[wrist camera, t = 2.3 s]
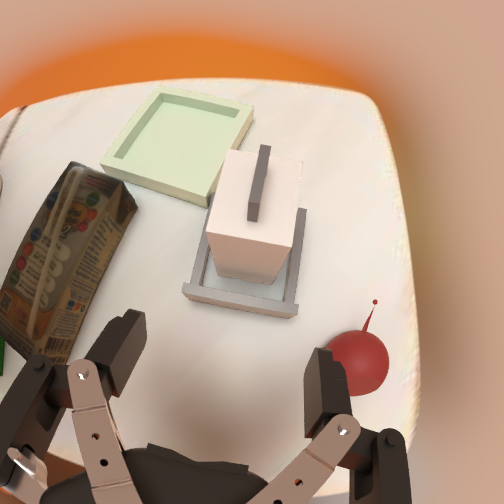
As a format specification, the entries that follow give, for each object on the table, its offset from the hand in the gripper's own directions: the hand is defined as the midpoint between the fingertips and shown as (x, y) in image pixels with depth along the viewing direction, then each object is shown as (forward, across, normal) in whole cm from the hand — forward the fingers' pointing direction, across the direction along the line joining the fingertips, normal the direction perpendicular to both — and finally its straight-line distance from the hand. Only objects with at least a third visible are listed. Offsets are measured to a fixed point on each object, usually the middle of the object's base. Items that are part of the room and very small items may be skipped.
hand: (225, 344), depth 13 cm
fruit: (+10, -11, +9) cm, 17 cm away
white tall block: (+15, 0, +3) cm, 16 cm away
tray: (+23, +10, -5) cm, 26 cm away
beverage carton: (+12, +18, +7) cm, 23 cm away
